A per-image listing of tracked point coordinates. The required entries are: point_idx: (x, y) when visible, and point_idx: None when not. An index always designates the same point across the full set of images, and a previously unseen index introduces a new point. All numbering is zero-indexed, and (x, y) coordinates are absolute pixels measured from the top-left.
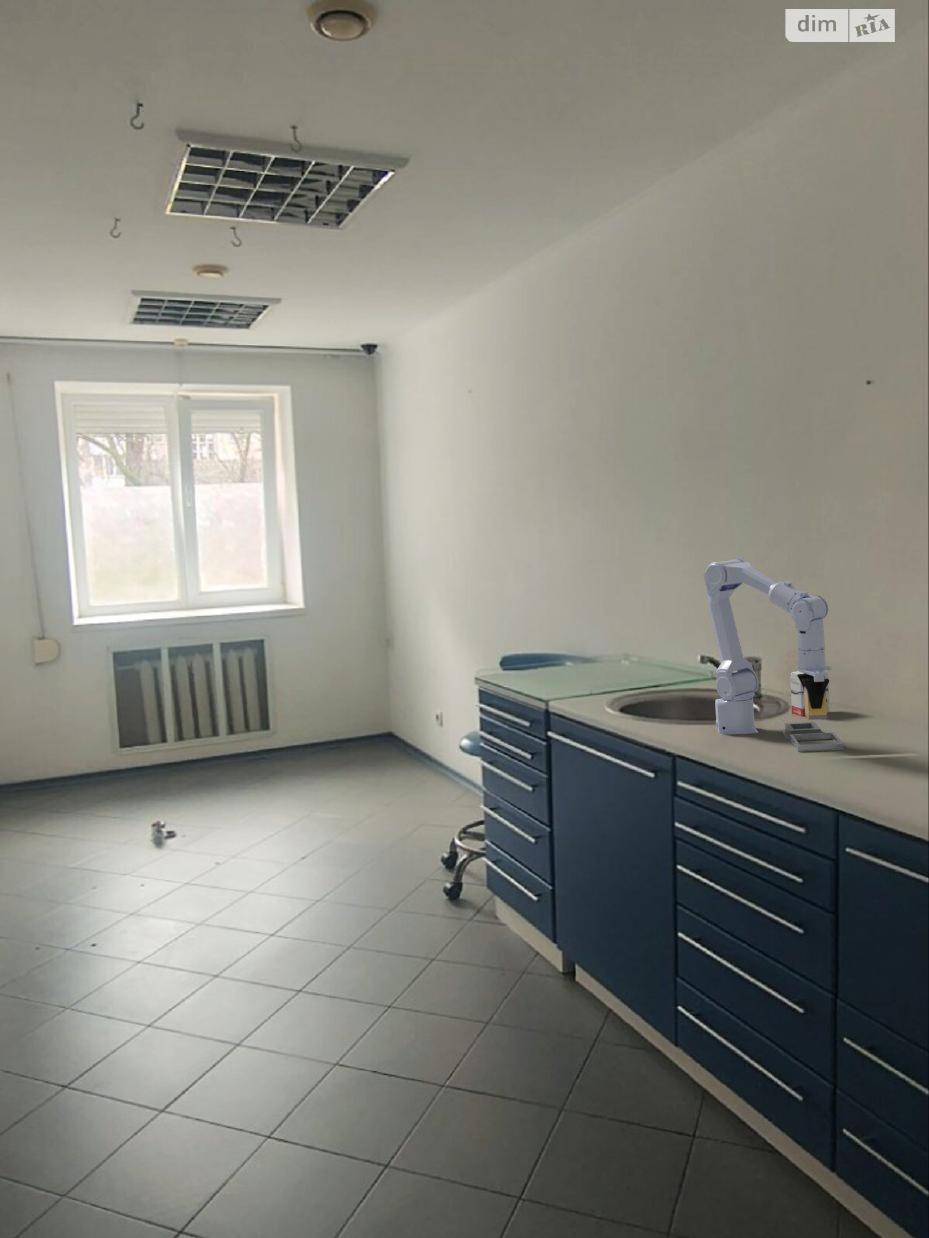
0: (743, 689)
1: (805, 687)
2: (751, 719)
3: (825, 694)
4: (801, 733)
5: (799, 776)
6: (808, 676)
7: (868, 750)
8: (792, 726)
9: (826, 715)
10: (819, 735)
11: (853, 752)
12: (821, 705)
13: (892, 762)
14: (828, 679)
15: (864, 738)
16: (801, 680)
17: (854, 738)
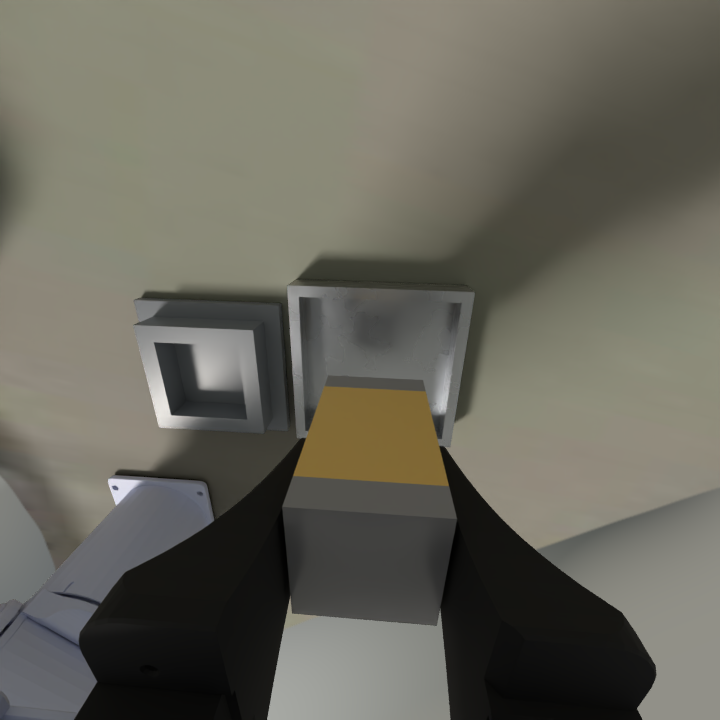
0: (84, 684)
1: (328, 612)
2: (164, 529)
3: (444, 481)
4: (265, 391)
5: (671, 474)
6: (252, 702)
7: (468, 181)
8: (174, 402)
9: (425, 391)
10: (302, 340)
11: (478, 251)
12: (452, 458)
13: (683, 129)
14: (595, 648)
15: (276, 140)
16: (271, 688)
17: (272, 186)
